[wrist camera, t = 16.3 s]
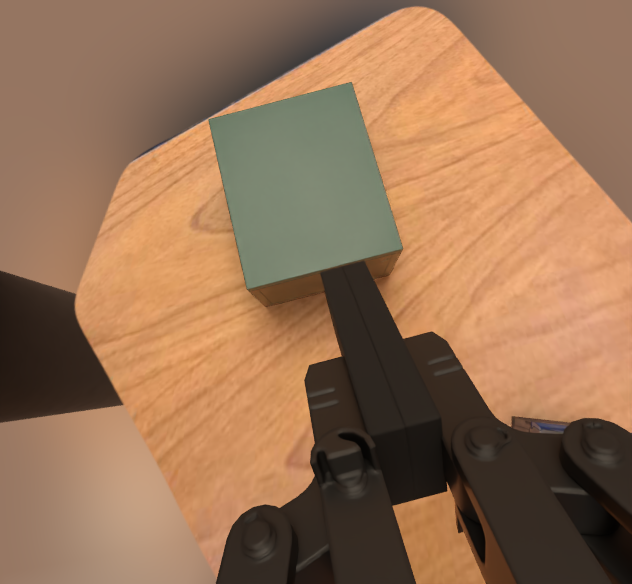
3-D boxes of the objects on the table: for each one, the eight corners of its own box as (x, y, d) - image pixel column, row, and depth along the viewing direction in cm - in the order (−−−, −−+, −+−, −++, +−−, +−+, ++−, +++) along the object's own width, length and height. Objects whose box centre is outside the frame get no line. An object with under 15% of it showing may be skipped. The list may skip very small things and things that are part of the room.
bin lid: (210, 124, 40) (208, 119, 39) (351, 87, 40) (351, 81, 39) (248, 291, 37) (246, 289, 36) (401, 251, 37) (403, 248, 36)
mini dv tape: (598, 425, 42) (640, 434, 36) (598, 442, 41) (641, 453, 36) (511, 416, 42) (539, 423, 36) (511, 432, 42) (539, 441, 36)
